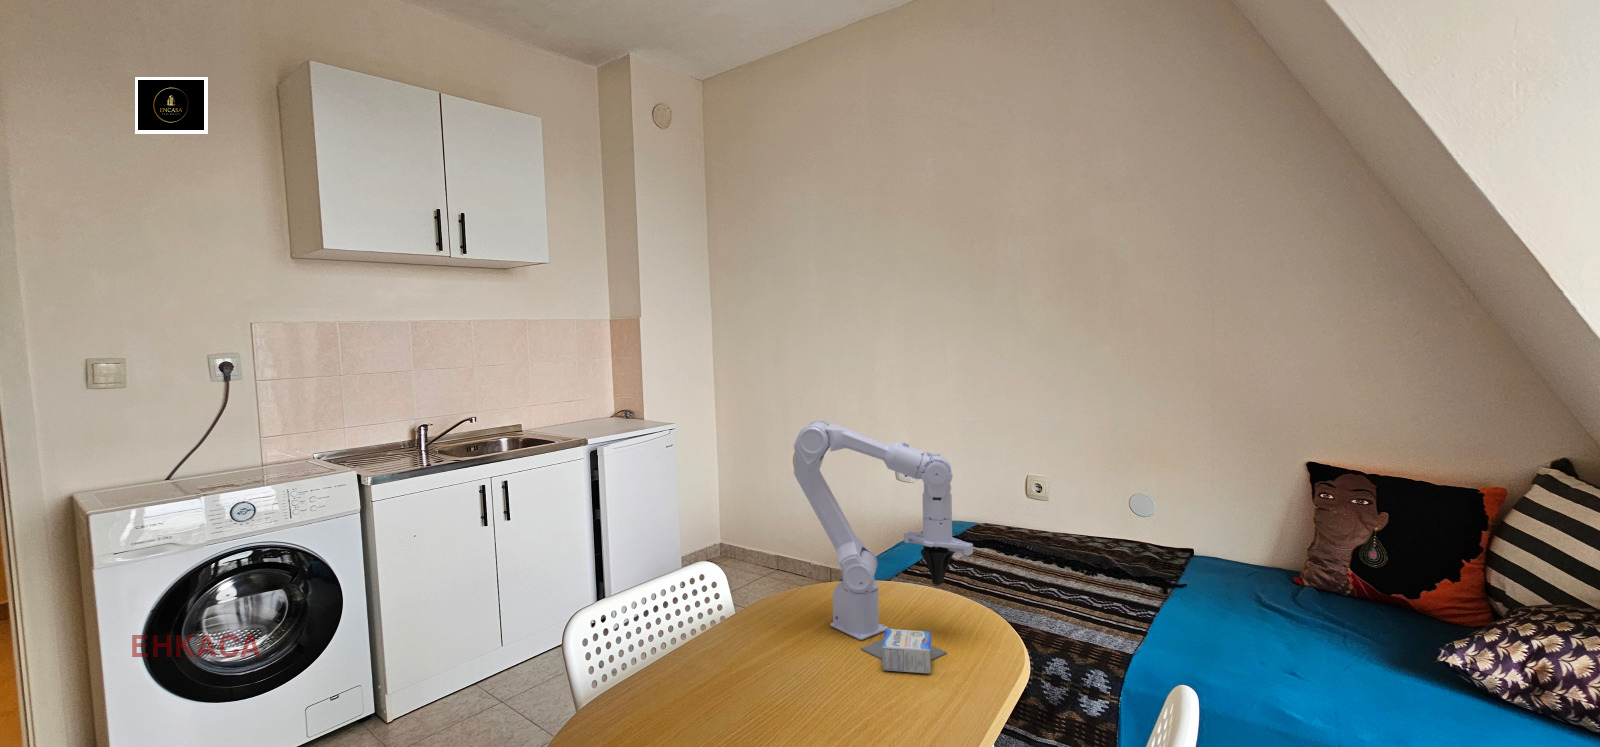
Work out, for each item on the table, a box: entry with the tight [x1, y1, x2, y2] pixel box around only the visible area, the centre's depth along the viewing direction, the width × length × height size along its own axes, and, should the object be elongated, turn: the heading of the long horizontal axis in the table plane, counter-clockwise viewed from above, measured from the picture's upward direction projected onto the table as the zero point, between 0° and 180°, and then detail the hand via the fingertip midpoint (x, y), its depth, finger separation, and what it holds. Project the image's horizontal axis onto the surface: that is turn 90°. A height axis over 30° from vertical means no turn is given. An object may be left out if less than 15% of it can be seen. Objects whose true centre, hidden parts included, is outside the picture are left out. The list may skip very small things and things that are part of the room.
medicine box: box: [881, 628, 932, 674], centre depth 124 cm, size 8×4×9 cm
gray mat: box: [860, 638, 948, 662], centre depth 129 cm, size 12×11×1 cm
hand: (938, 583), depth 136 cm, fingers closed
